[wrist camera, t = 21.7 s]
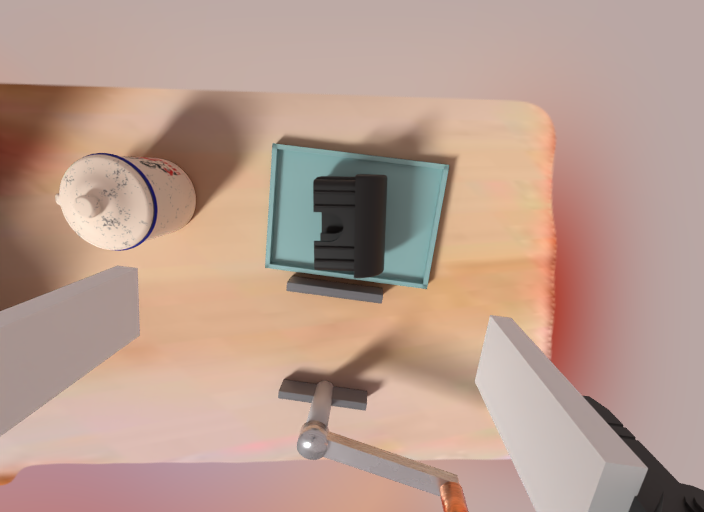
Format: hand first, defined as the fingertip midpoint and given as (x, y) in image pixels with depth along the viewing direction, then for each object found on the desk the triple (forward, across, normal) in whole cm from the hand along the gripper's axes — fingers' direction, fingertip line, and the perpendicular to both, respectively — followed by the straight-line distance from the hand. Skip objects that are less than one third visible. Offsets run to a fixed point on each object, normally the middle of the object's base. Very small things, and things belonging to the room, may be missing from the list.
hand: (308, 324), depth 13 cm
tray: (+29, 0, 0) cm, 29 cm away
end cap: (+28, 0, 0) cm, 28 cm away
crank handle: (+21, +6, -24) cm, 33 cm away
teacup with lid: (+29, -24, 0) cm, 37 cm away
